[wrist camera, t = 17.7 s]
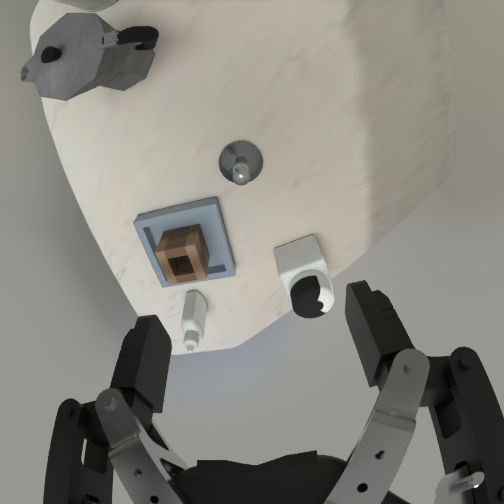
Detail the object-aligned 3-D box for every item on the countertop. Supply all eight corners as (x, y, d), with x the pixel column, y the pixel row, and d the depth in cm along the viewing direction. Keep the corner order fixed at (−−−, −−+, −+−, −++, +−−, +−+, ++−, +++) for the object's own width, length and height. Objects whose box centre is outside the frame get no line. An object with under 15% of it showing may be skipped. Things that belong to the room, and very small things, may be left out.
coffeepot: (85, 100, 30) (1, 124, 15) (84, 43, 24) (0, 37, 9) (185, 82, 30) (140, 80, 15) (186, 20, 25) (144, -26, 10)
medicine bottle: (286, 278, 49) (297, 329, 39) (272, 248, 46) (282, 298, 36) (323, 264, 48) (343, 313, 38) (313, 233, 44) (334, 280, 34)
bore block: (163, 231, 42) (154, 252, 37) (199, 223, 42) (194, 244, 37) (175, 261, 45) (169, 284, 40) (209, 255, 45) (206, 278, 40)
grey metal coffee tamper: (215, 146, 36) (210, 158, 30) (258, 137, 35) (262, 148, 29) (224, 185, 39) (221, 205, 33) (265, 177, 39) (270, 195, 33)
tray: (138, 214, 41) (133, 222, 39) (216, 196, 40) (215, 203, 38) (165, 278, 48) (162, 287, 46) (235, 266, 47) (235, 275, 45)
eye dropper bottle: (210, 292, 50) (205, 344, 40) (205, 312, 53) (200, 362, 43) (187, 287, 50) (177, 339, 40) (183, 308, 52) (175, 358, 43)
